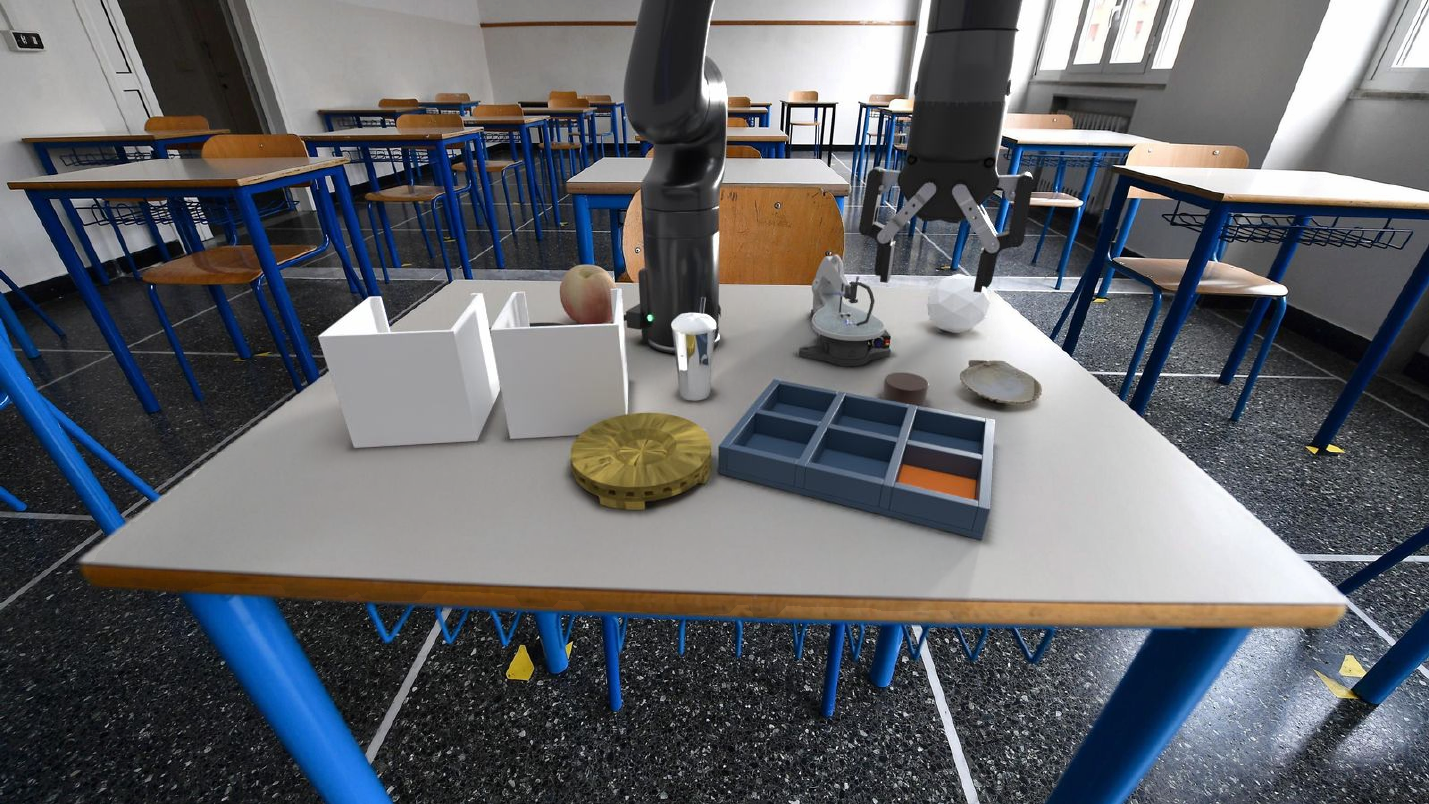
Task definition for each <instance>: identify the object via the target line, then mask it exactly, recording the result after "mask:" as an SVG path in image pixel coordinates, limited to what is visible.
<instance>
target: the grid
mask: <svg viewBox="0 0 1429 804" xmlns="http://www.w3.org/2000/svg"><path fill="white" fill-rule="evenodd" d="M995 425H996V419H992V418H987V417H980V416H975V415H970V414H966V413H965V414H964V413H958V412H953V411H948V410H942V409H938V408H937V409H936V408H931V407H925V406H924V407H921V406H918V407H917V406H916V405H910V404H905V403H900V402H894V401H889V400H883V399H882V398H877V397H872V396H868V395H867V396H866V395H861V394H856V393H850V392H846V391H840V390H839V391H838V390H835V389H829V388H824V387H817V386H813V385H807V384H801V383H795V382H790V381H786V380H785V381H784V380H780V379H773V380H772V381H771V382H770V383H769V385H768V386H767V387H766V388H765V389H764V391H762V393H761V394H760V395H759V396H758V398H756V400H755V401H754V403H753V404H752V405H751V406H750V407H749V409H747V411H746V412H745V414H743V416H742V417H741V418H740V420H739V421H738V422H737V423H736V424H735V425H734V427H732V429H731V430H730V432H729V433H728V434H727V435H726V436H725V438H723V440H722V441H721V442H720V443H719V445H718V449H717V450H718V451H717V453H718V461H717V463H718V466H717V469H718V471H717V473H718V474H719V475H722V476H727V477H732V478H735V479H738V480H742V481H746V482H751V483H755V484H759V485H763V486H767V487H769V488H770V487H771V488H775V489H778V490H783V491H787V492H791V493H795V494H799V495H803V496H806V497H810V498H813V499H818V500H822V501H826V502H830V503H833V504H838V505H842V506H846V507H850V508H854V509H857V510H861V511H866V512H870V513H873V514H878V515H881V516H884V517H885V516H886V517H890V518H893V519H898V520H900V521H901V520H902V521H906V522H909V523H913V524H917V525H920V526H921V525H922V526H925V527H928V528H933V529H936V530H941V531H945V532H949V533H953V534H957V535H961V536H965V537H969V538H973V539H977V540H980V541H982V540H983V538H984V535H985V534H984V533H985V530H986V526H987V523H988V518H989V515H990V511H991V499H992V498H991V497H992V480H993V479H992V478H993V461H994V444H995V442H994V441H995Z"/></svg>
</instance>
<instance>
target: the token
mask: <svg viewBox="0 0 1429 804" xmlns="http://www.w3.org/2000/svg"><path fill="white" fill-rule="evenodd" d="M928 389H929V381H928V380H927V379H926V378H925V377H923V376H920V375H919V374H914V373H910V372H902V371H901V372H893V373H889V374H887V375H885V377H884V381H883V389H882V395H881V399H883V400H889V401H894V402H900V403H905V404H910V405H916V406H917V407H918V406H921V407H925V406H926V400H927V395H928Z"/></svg>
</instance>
